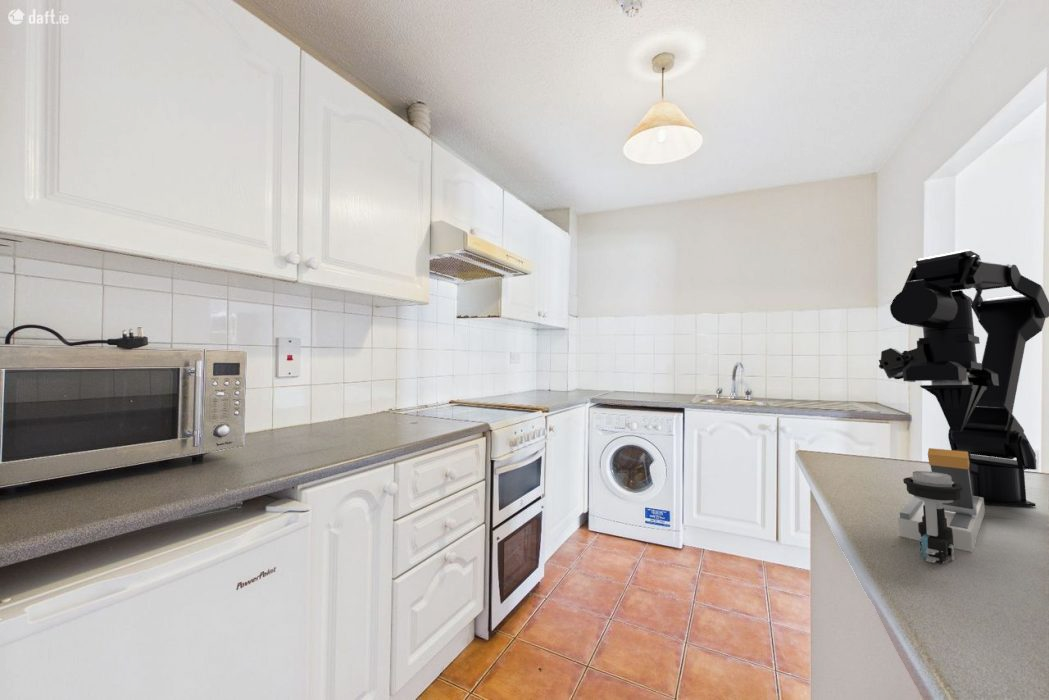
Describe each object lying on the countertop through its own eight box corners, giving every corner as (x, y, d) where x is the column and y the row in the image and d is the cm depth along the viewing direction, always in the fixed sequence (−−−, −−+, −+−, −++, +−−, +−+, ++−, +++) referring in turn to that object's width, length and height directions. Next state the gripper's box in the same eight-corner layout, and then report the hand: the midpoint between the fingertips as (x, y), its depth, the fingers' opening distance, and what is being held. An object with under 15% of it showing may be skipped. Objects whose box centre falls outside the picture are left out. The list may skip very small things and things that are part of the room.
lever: (937, 503, 62) (927, 447, 60) (976, 510, 59) (969, 451, 57) (935, 511, 61) (926, 454, 59) (976, 518, 58) (968, 458, 56)
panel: (923, 503, 72) (922, 483, 72) (984, 513, 66) (983, 492, 66) (899, 536, 59) (897, 511, 59) (972, 552, 54) (970, 525, 54)
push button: (961, 574, 48) (955, 484, 49) (900, 558, 52) (894, 476, 53) (971, 557, 52) (965, 474, 53) (913, 543, 56) (908, 467, 57)
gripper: (907, 342, 79) (914, 427, 77) (859, 331, 70) (866, 427, 68) (994, 335, 70) (1004, 432, 68) (952, 321, 60) (962, 433, 59)
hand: (956, 431), depth 66 cm, fingers closed
